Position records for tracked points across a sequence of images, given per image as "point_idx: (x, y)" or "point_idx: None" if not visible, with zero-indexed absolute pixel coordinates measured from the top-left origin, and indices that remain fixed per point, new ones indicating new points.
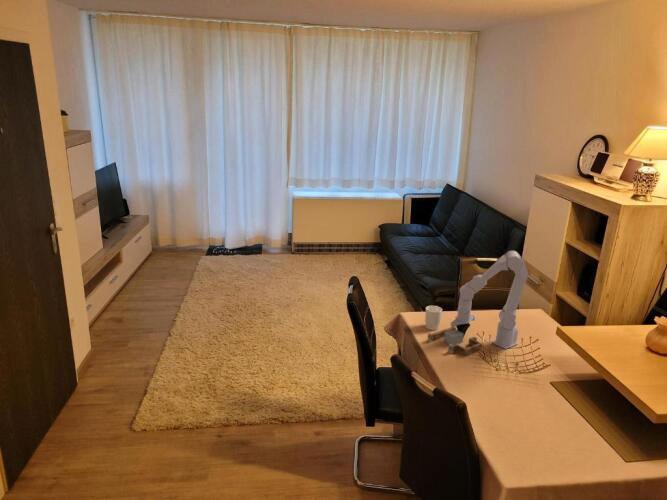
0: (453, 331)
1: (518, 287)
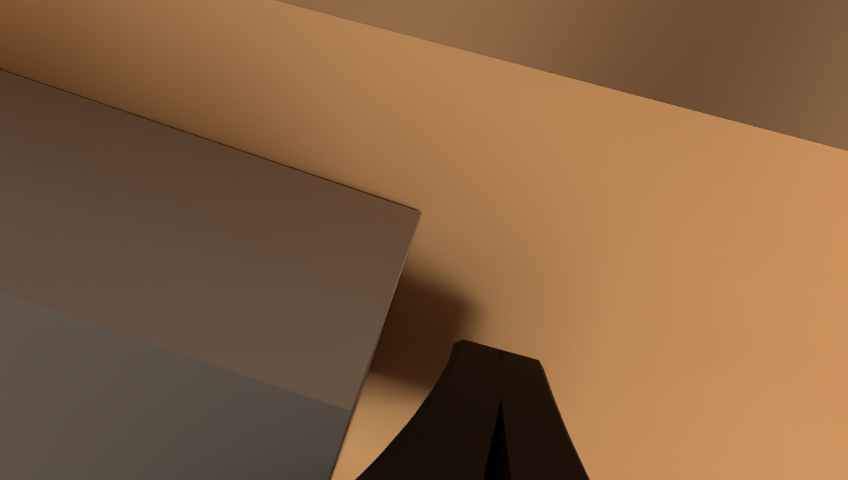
0: (67, 413)
1: None
